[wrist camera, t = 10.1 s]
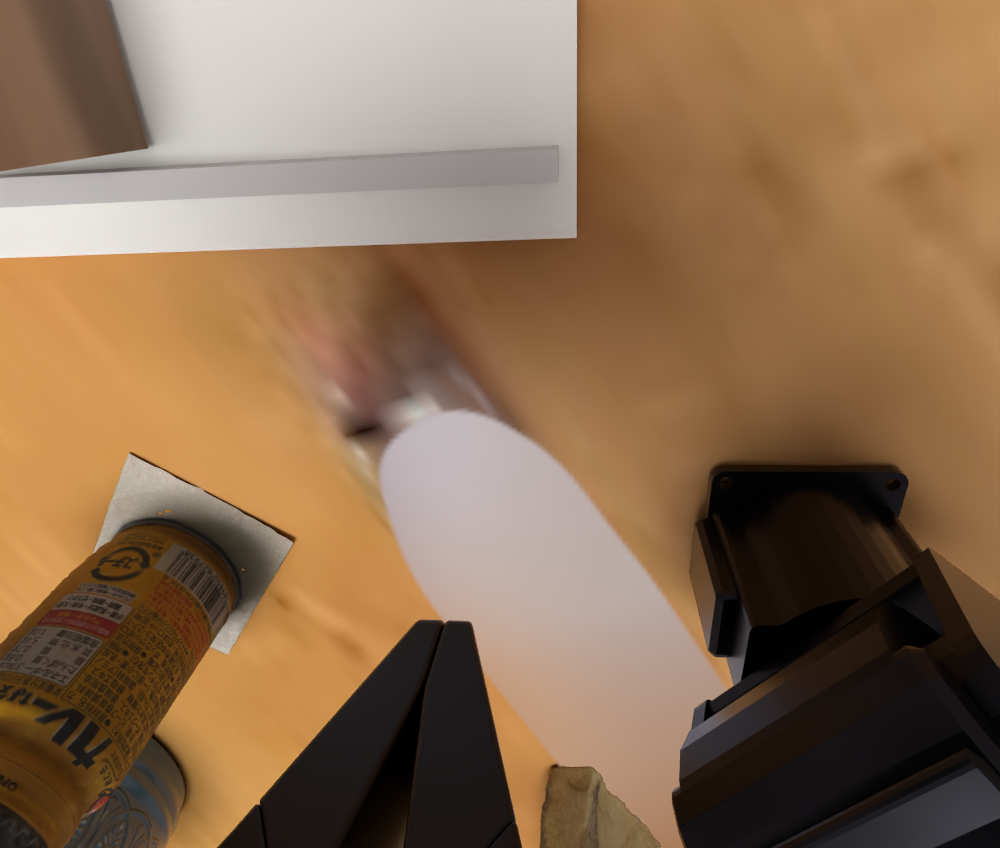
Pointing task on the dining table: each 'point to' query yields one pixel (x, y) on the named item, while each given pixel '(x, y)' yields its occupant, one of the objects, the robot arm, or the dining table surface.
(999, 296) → the dining table surface
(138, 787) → the canister
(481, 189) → the gauge base
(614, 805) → the rock
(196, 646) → the condiment
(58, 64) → the brown cardboard cube
